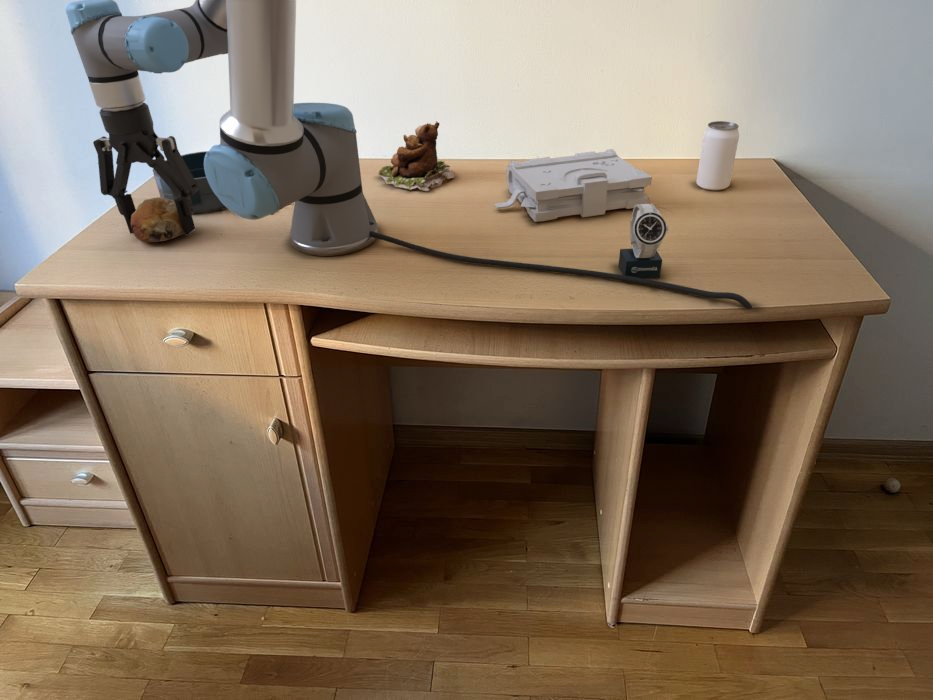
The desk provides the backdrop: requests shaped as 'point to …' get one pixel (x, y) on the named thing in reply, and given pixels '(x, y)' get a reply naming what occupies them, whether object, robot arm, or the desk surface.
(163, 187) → the dark blue bowl
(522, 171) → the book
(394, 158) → the bear figurine
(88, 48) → the robot arm
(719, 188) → the can
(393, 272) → the desk surface
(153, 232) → the bread roll
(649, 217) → the watch
